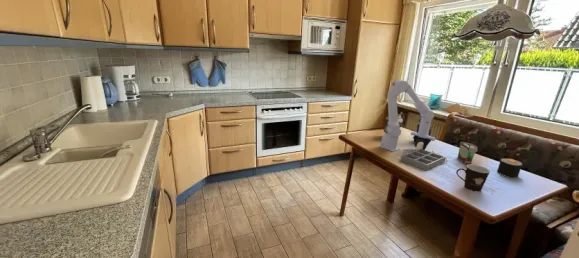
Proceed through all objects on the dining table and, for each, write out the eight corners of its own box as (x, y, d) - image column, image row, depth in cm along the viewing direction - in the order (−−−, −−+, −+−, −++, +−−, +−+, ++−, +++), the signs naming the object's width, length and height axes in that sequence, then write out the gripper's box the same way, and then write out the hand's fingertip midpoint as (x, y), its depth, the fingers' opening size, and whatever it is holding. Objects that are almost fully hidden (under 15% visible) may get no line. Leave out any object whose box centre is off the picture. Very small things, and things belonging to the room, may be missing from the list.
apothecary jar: (379, 137, 184) (382, 113, 179) (388, 134, 191) (392, 111, 186) (393, 141, 174) (398, 117, 169) (403, 139, 181) (407, 115, 176)
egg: (414, 150, 160) (416, 141, 158) (417, 149, 162) (419, 140, 161) (421, 152, 156) (423, 143, 155) (424, 151, 159) (426, 142, 157)
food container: (477, 166, 139) (482, 149, 136) (465, 165, 140) (470, 148, 137) (467, 158, 151) (471, 142, 148) (456, 156, 152) (460, 141, 149)
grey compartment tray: (400, 160, 142) (401, 155, 141) (419, 153, 154) (420, 148, 153) (426, 170, 131) (427, 165, 130) (444, 161, 143) (445, 156, 142)
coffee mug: (484, 188, 115) (490, 168, 112) (483, 195, 109) (489, 174, 106) (455, 179, 122) (460, 160, 119) (452, 185, 116) (457, 166, 113)
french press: (410, 139, 181) (416, 109, 174) (421, 139, 182) (427, 109, 176) (420, 145, 169) (427, 112, 163) (432, 145, 171) (440, 112, 164)
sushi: (493, 171, 134) (497, 157, 131) (505, 170, 136) (509, 156, 133) (509, 178, 126) (514, 164, 124) (521, 177, 128) (526, 163, 126)
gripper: (439, 130, 152) (434, 150, 156) (416, 124, 163) (412, 143, 167) (433, 131, 148) (429, 152, 152) (410, 125, 159) (406, 145, 163)
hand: (420, 148), depth 159 cm, fingers closed on egg, 4 cm apart
